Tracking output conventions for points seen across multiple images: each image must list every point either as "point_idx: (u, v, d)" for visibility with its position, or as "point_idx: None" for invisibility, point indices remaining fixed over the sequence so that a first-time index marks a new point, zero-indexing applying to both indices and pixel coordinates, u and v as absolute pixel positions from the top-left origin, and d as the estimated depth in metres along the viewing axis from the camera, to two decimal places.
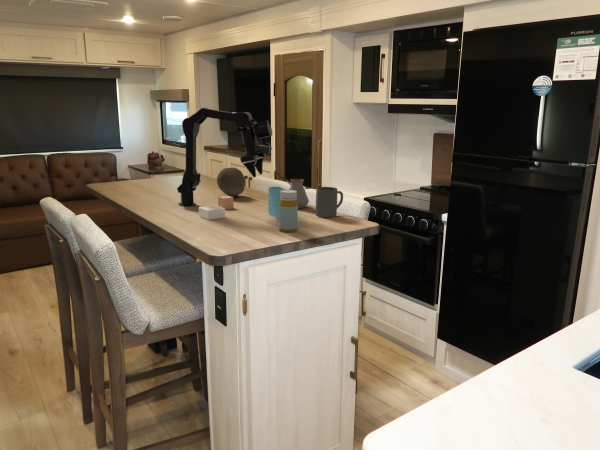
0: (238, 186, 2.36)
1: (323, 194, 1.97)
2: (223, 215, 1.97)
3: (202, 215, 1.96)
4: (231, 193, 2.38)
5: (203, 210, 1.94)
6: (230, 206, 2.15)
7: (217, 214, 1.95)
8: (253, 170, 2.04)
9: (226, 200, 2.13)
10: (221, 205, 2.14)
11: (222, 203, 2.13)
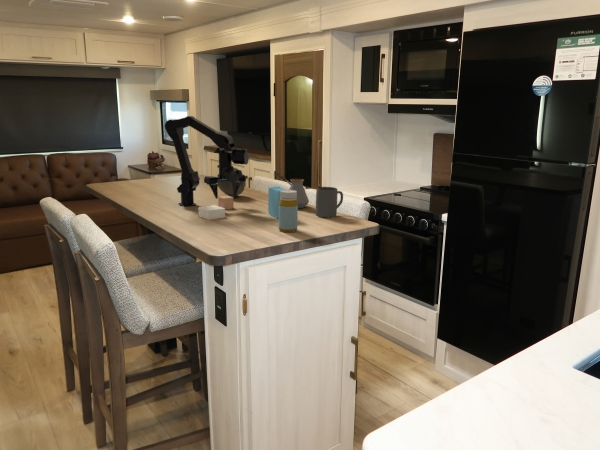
0: None
1: (323, 194, 1.97)
2: (223, 215, 1.97)
3: (202, 215, 1.95)
4: (231, 193, 2.38)
5: (203, 210, 1.94)
6: (230, 206, 2.15)
7: (217, 214, 1.95)
8: (214, 192, 2.11)
9: (226, 200, 2.13)
10: (221, 205, 2.14)
11: (222, 203, 2.13)
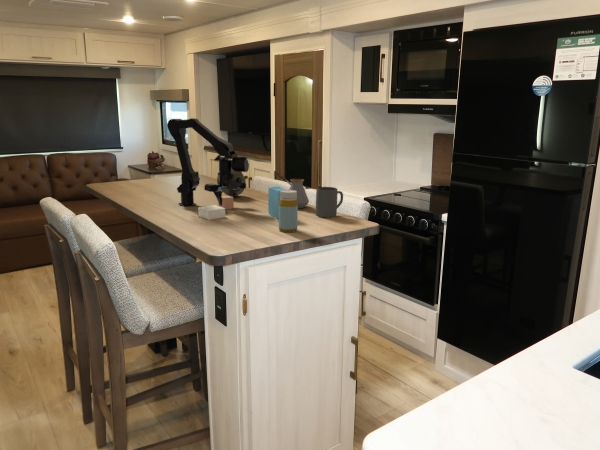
0: None
1: (323, 194, 1.97)
2: (223, 215, 1.97)
3: (202, 215, 1.95)
4: None
5: (204, 210, 1.94)
6: (230, 206, 2.15)
7: (217, 214, 1.95)
8: (219, 199, 2.13)
9: (226, 200, 2.13)
10: None
11: (222, 202, 2.13)
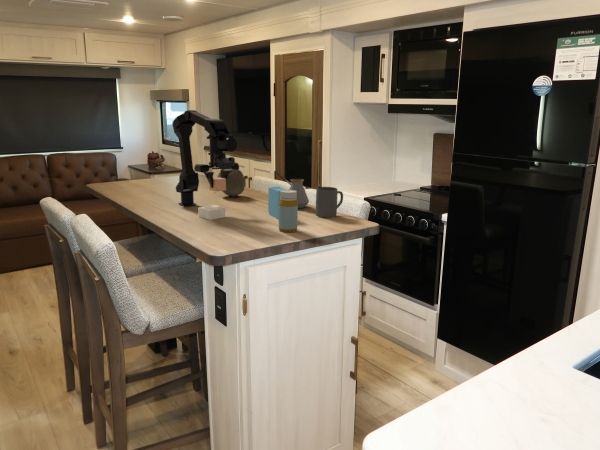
0: (238, 186, 2.36)
1: (323, 194, 1.97)
2: (224, 215, 1.97)
3: (203, 215, 1.95)
4: (231, 193, 2.38)
5: (204, 210, 1.94)
6: (222, 188, 2.00)
7: (218, 214, 1.95)
8: (210, 181, 1.98)
9: (218, 182, 1.99)
10: (213, 187, 2.00)
11: (213, 184, 1.99)
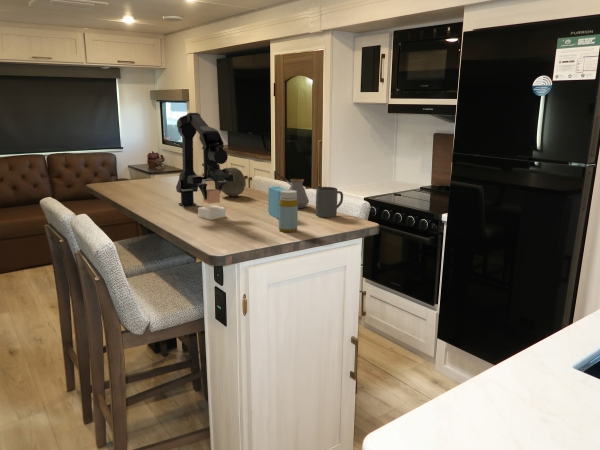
0: (238, 186, 2.36)
1: (323, 194, 1.97)
2: (224, 215, 1.98)
3: (203, 215, 1.95)
4: (231, 193, 2.38)
5: (204, 210, 1.94)
6: (216, 200, 1.95)
7: (218, 214, 1.95)
8: (203, 192, 1.93)
9: (212, 194, 1.93)
10: None
11: (207, 196, 1.93)
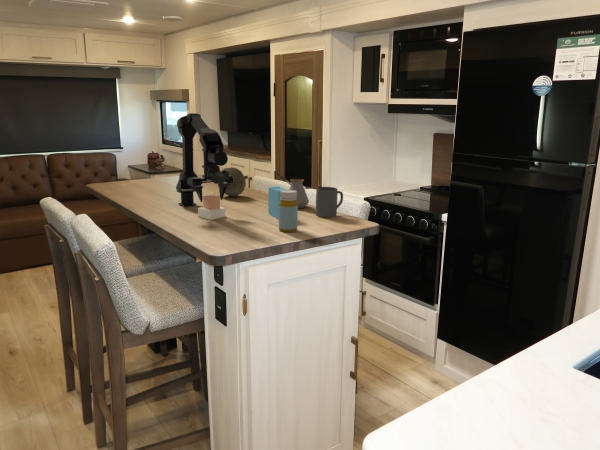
0: (238, 186, 2.36)
1: (323, 194, 1.97)
2: (224, 214, 1.98)
3: (203, 215, 1.95)
4: (231, 193, 2.38)
5: (204, 210, 1.94)
6: (216, 206, 1.95)
7: (218, 214, 1.95)
8: (199, 195, 1.92)
9: (212, 200, 1.94)
10: (206, 205, 1.95)
11: (207, 202, 1.94)
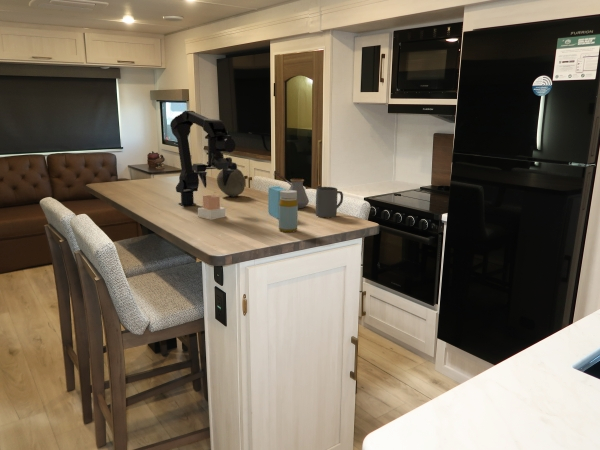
0: (238, 186, 2.36)
1: (323, 194, 1.97)
2: (224, 215, 1.98)
3: (203, 216, 1.95)
4: (231, 193, 2.38)
5: (204, 210, 1.94)
6: (216, 206, 1.95)
7: (218, 214, 1.95)
8: (203, 180, 1.99)
9: (212, 200, 1.93)
10: (206, 205, 1.95)
11: (207, 203, 1.94)
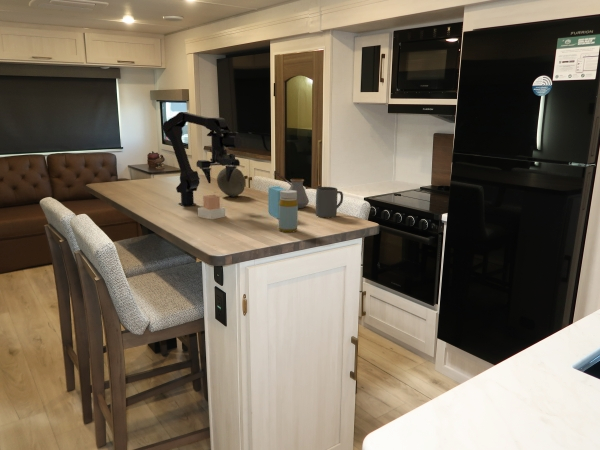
0: (238, 186, 2.36)
1: (323, 194, 1.97)
2: (224, 214, 1.98)
3: (203, 215, 1.95)
4: (231, 193, 2.38)
5: (204, 210, 1.94)
6: (216, 206, 1.95)
7: (218, 214, 1.96)
8: (207, 176, 2.06)
9: (212, 200, 1.94)
10: (206, 205, 1.95)
11: (207, 202, 1.94)
